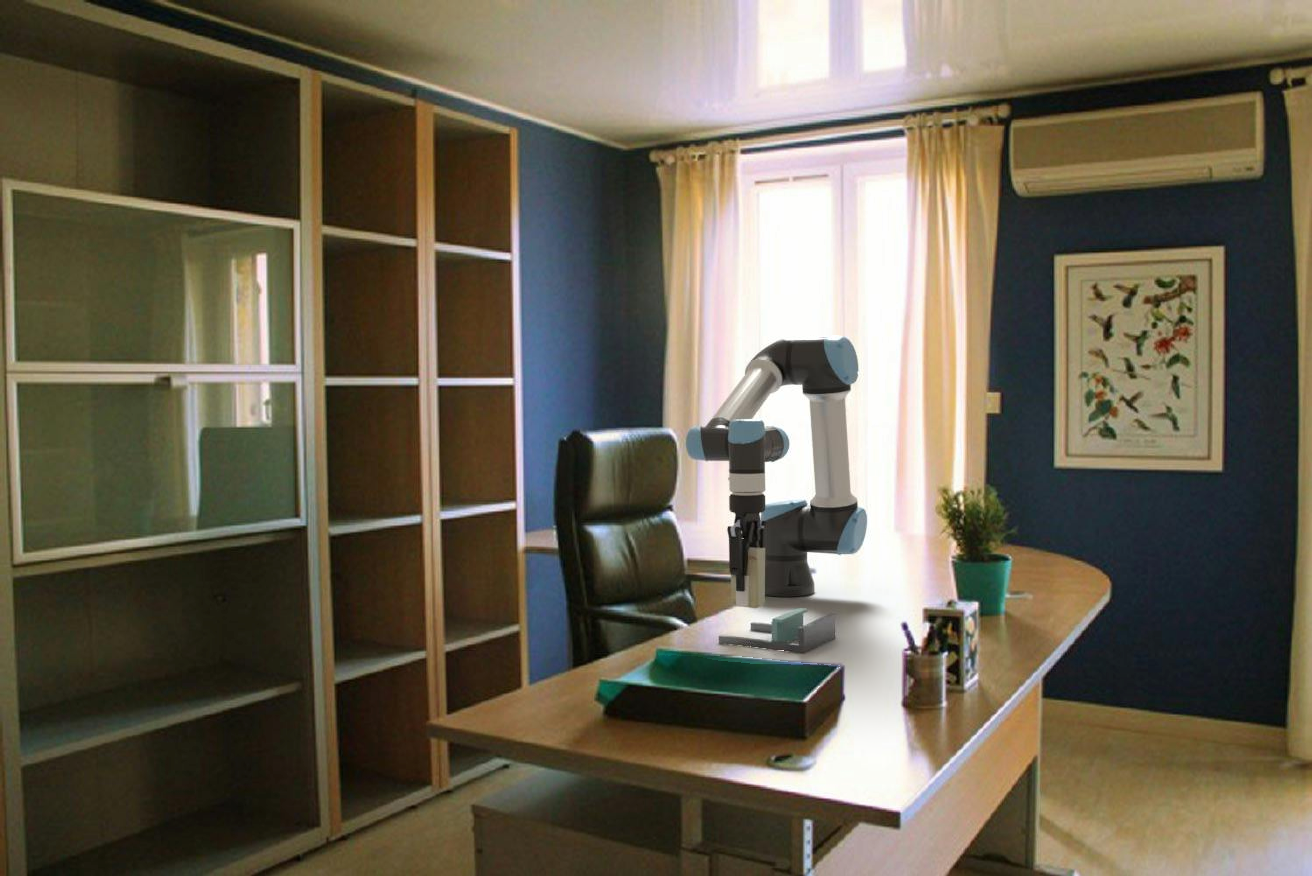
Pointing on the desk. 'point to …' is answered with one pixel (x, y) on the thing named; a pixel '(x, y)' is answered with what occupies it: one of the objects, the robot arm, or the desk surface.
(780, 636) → the block
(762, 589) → the skincare box
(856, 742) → the desk surface
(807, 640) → the lane
